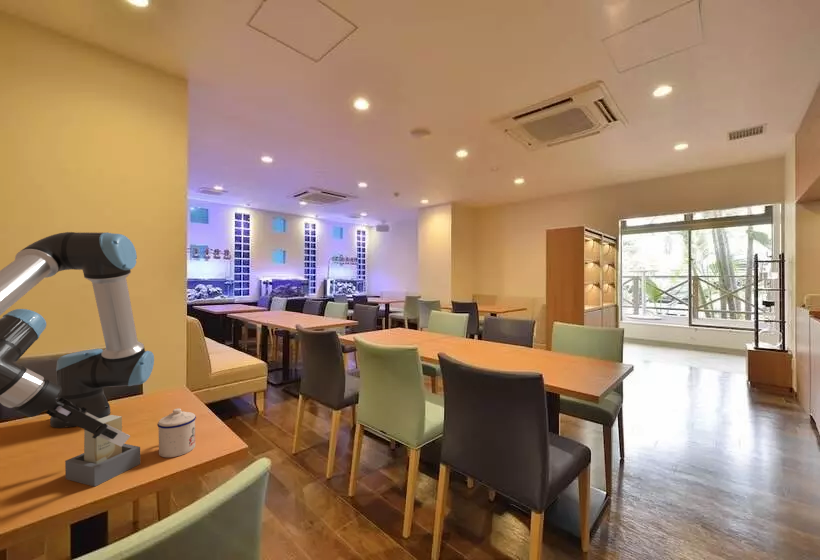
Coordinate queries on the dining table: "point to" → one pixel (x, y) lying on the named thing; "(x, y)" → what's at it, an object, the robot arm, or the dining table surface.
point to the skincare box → (102, 442)
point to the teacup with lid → (176, 433)
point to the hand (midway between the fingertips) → (114, 434)
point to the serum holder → (102, 466)
